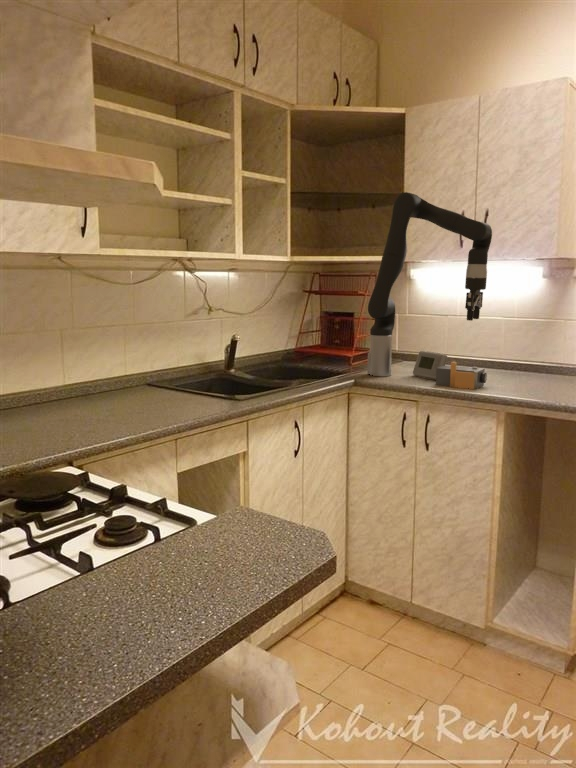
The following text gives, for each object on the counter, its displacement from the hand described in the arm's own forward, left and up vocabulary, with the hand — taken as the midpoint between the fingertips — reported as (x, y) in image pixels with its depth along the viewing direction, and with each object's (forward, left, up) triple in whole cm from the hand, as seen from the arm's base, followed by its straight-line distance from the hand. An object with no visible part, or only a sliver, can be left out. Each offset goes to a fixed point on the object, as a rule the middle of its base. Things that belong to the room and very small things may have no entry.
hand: (472, 319), depth 231 cm
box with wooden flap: (-3, -3, -25) cm, 26 cm away
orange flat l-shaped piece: (0, -8, -25) cm, 26 cm away
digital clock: (-19, +7, -26) cm, 33 cm away
